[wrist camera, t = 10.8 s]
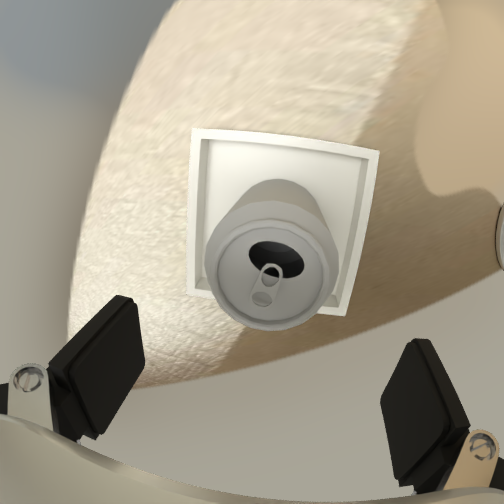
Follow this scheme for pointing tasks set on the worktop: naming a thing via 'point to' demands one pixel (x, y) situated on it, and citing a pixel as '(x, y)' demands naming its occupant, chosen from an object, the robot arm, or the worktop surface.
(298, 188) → the can
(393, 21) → the worktop surface
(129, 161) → the worktop surface
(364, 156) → the tray
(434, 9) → the worktop surface
